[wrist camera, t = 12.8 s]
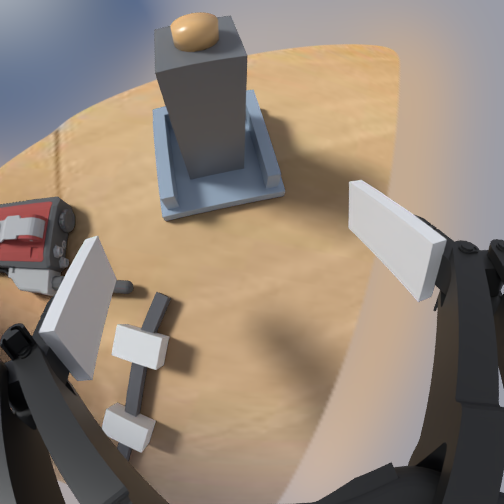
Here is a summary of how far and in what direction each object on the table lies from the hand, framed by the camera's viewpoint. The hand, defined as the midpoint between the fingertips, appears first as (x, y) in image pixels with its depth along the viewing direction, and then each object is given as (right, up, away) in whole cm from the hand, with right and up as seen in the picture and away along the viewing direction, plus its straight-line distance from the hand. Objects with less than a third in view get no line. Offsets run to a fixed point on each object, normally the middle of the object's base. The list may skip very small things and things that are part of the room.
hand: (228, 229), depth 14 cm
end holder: (-2, +7, +10) cm, 13 cm away
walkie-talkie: (-18, -1, +9) cm, 20 cm away
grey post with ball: (-2, +7, +10) cm, 12 cm away
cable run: (-8, -12, +6) cm, 16 cm away
